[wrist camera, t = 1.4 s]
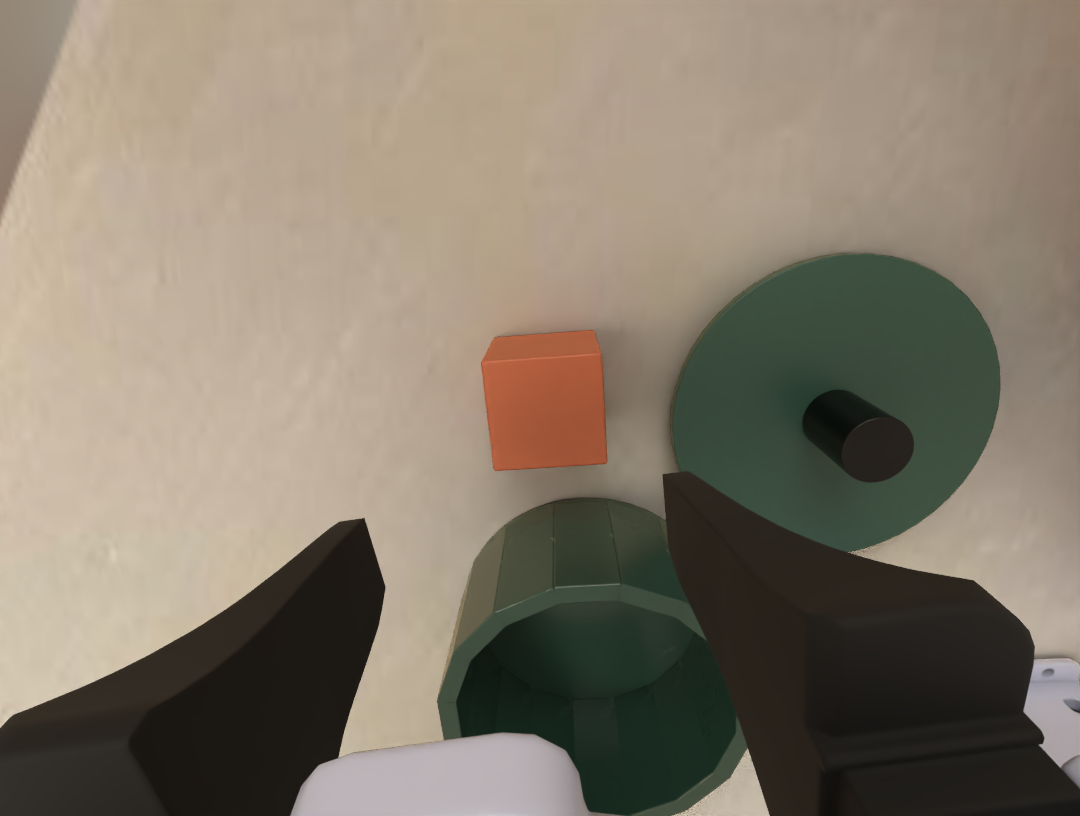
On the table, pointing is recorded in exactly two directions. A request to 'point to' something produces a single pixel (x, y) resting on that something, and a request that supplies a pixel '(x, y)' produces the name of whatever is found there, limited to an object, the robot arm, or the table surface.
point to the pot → (593, 657)
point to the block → (545, 400)
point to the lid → (839, 397)
